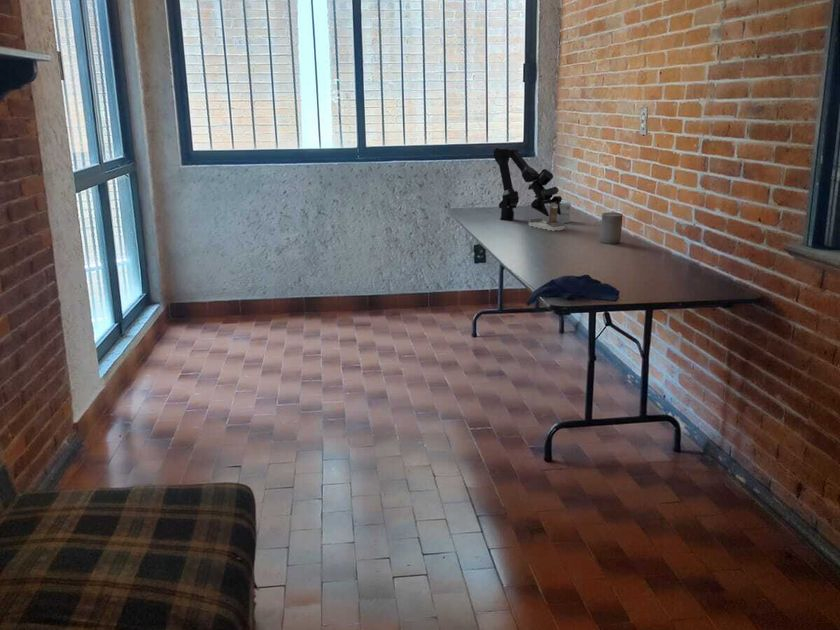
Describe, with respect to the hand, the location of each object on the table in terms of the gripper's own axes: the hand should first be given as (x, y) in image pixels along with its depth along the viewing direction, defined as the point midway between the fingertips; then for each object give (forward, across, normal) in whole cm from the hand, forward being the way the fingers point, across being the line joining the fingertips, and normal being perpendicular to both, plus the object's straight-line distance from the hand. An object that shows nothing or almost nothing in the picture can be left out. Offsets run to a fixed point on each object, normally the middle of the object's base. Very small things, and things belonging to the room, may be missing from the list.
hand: (554, 215), depth 391 cm
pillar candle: (+32, -2, -21) cm, 39 cm away
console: (+2, 0, +8) cm, 9 cm away
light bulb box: (-5, +22, +16) cm, 27 cm away
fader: (+3, 0, +4) cm, 5 cm away
